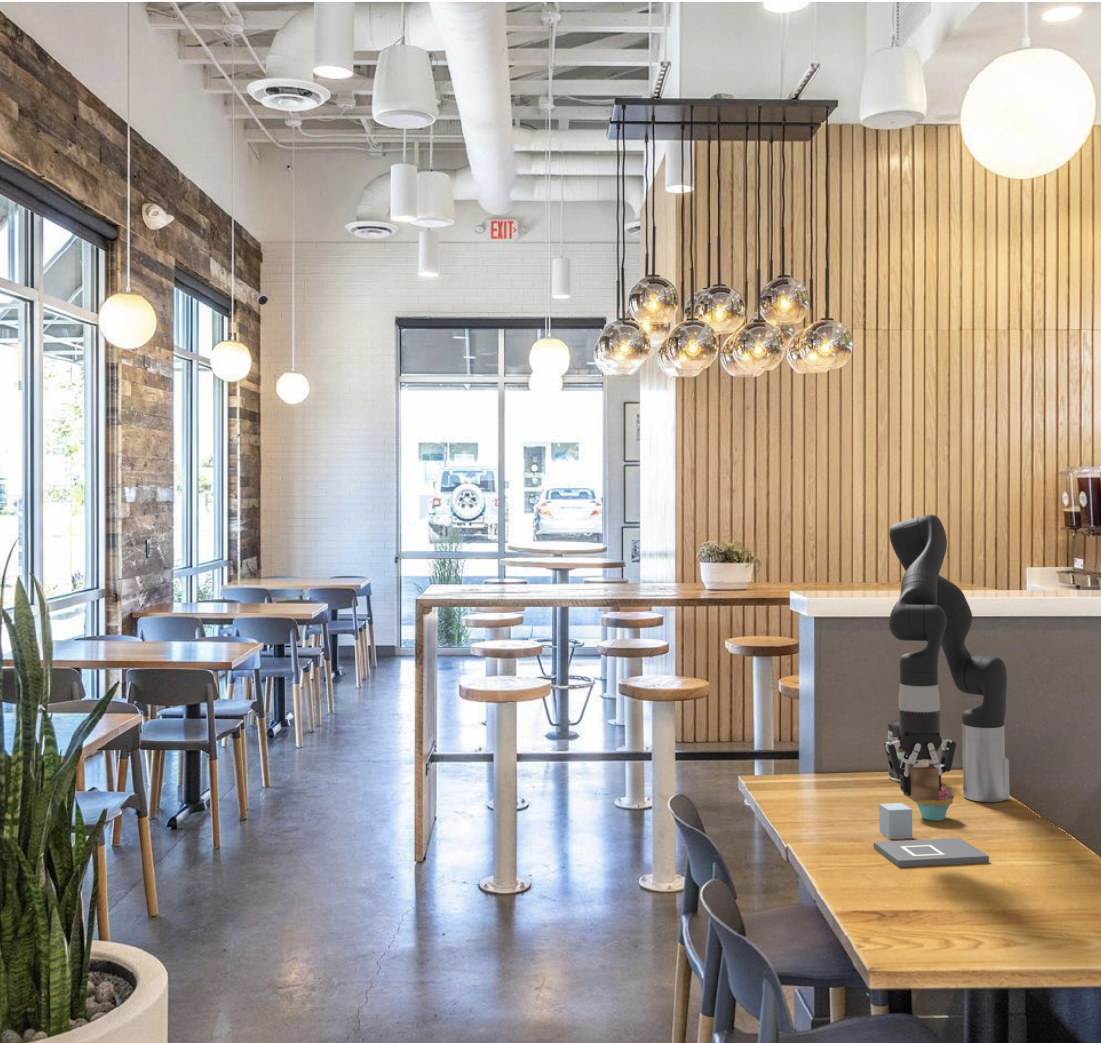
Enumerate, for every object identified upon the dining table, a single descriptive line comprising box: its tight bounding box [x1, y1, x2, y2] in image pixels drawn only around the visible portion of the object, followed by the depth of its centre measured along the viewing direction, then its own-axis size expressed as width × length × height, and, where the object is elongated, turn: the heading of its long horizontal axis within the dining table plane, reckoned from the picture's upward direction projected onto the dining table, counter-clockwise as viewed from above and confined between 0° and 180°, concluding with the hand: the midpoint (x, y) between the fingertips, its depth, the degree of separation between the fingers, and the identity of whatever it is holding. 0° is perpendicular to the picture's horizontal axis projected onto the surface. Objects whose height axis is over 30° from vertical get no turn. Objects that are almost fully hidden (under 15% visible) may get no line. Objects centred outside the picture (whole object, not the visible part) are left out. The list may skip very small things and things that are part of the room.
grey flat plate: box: [873, 837, 990, 868], centre depth 214 cm, size 18×12×1 cm, turn 95°
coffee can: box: [886, 719, 928, 783], centre depth 276 cm, size 10×10×14 cm
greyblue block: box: [878, 802, 914, 840], centre depth 228 cm, size 5×5×6 cm
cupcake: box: [913, 786, 954, 821], centre depth 240 cm, size 9×8×12 cm
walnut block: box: [902, 763, 939, 802], centre depth 213 cm, size 5×5×6 cm
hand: (920, 793), depth 213 cm, fingers closed on walnut block, 5 cm apart
